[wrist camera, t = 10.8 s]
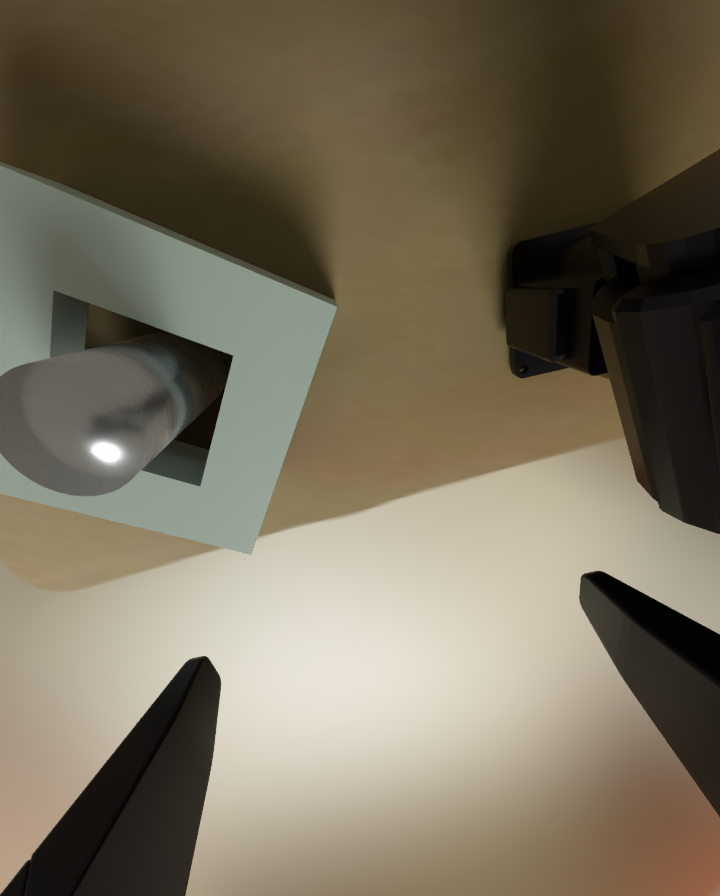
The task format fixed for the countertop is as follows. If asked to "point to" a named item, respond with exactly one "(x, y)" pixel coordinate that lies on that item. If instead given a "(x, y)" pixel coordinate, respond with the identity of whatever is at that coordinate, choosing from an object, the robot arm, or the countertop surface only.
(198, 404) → the steel pin
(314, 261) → the countertop surface
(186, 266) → the slate pin jig
